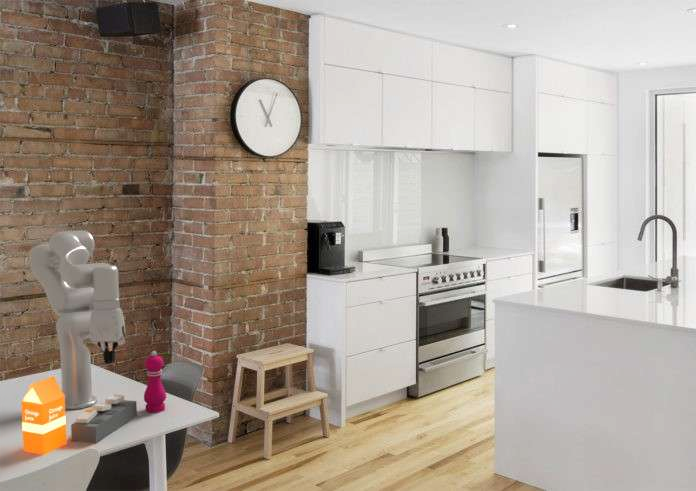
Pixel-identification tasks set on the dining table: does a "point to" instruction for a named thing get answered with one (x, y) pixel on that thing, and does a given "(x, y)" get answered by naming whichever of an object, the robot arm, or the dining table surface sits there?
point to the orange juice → (43, 417)
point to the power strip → (104, 422)
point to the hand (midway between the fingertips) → (109, 362)
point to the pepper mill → (154, 384)
